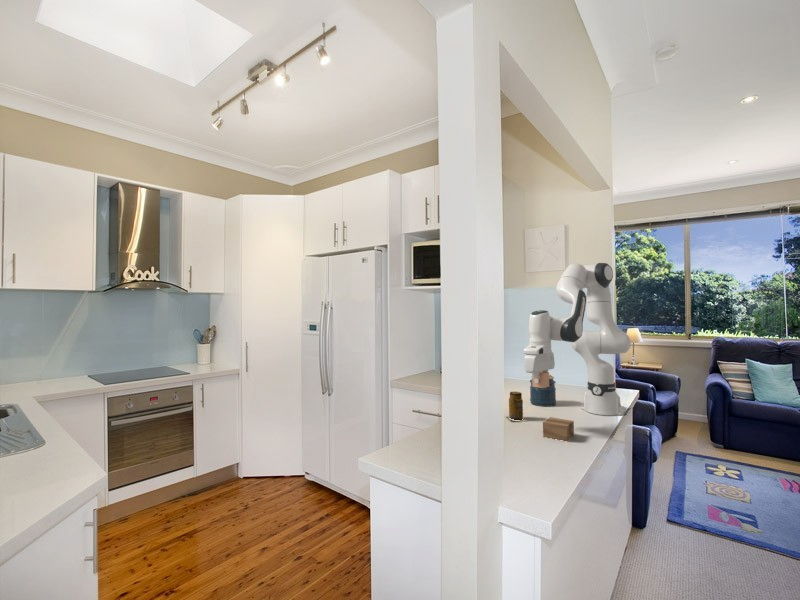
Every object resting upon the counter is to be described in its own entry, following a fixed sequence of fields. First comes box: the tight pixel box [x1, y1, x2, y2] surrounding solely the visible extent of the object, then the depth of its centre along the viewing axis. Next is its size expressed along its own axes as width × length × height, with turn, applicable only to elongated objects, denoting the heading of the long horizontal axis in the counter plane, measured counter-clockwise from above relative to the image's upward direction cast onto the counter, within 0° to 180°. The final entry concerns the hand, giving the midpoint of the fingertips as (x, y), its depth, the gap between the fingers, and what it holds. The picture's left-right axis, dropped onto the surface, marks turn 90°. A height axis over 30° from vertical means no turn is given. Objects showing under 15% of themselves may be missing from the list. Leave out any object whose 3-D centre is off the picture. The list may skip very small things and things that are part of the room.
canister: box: [529, 371, 557, 407], centre depth 207 cm, size 13×13×18 cm
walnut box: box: [542, 416, 575, 442], centre depth 153 cm, size 9×9×6 cm
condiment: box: [508, 391, 527, 423], centre depth 178 cm, size 7×8×12 cm
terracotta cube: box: [531, 371, 550, 388], centre depth 165 cm, size 5×5×6 cm
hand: (540, 381), depth 165 cm, fingers closed on terracotta cube, 5 cm apart
